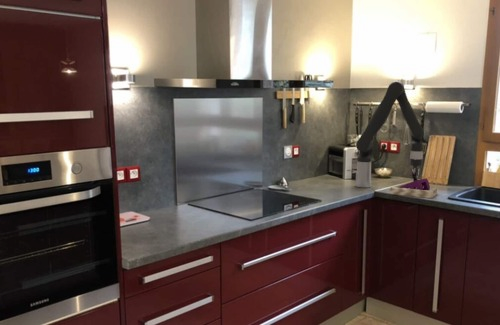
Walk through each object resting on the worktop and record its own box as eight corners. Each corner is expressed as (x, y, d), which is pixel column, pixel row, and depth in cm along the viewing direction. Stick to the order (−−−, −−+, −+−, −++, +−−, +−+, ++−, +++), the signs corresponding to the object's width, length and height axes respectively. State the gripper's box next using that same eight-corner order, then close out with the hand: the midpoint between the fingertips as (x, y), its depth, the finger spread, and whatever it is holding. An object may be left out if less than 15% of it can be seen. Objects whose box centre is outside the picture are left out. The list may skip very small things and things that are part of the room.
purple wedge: (400, 200, 291) (422, 192, 277) (395, 187, 293) (417, 179, 279) (409, 198, 296) (431, 191, 282) (405, 186, 298) (427, 178, 284)
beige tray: (390, 193, 282) (390, 187, 282) (396, 189, 294) (396, 183, 294) (432, 198, 269) (433, 191, 269) (436, 193, 281) (437, 187, 281)
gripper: (412, 156, 296) (411, 182, 299) (408, 158, 285) (407, 185, 288) (424, 157, 293) (423, 183, 295) (420, 159, 281) (419, 186, 284)
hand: (415, 184), depth 291 cm, fingers closed
